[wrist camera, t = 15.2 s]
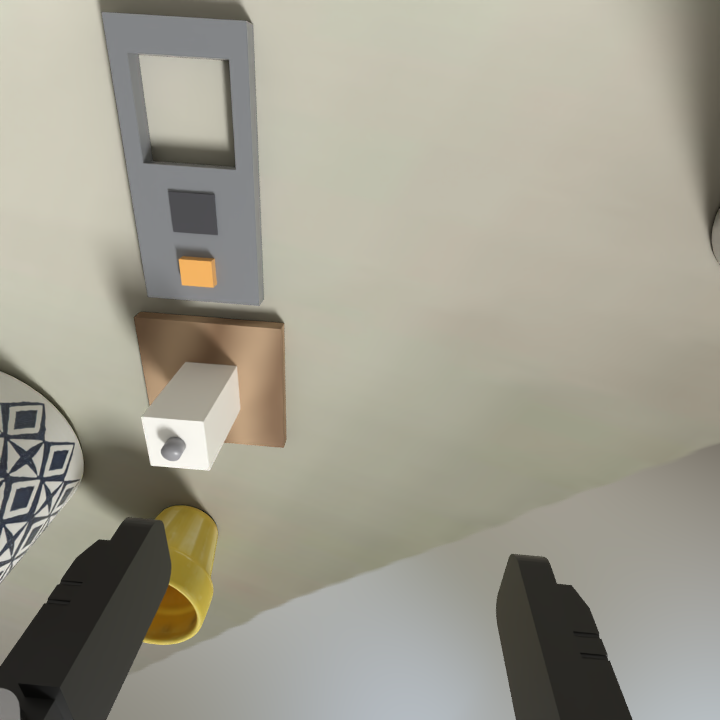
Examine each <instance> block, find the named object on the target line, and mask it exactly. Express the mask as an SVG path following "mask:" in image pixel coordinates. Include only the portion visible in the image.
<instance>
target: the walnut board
mask: <svg viewBox="0 0 720 720" xmlns="http://www.w3.org/2000/svg"><path fill="white" fill-rule="evenodd" d="M134 321H135V327H136V332H137V338H138V343H139V349H140V354H141V360H142V366H143V371H144V377H145V382H146V388H147V393H148V399H149V404H150V405H151V404H152V403H153V401H154V400H155V399H156V398H157V396H158V395H159V394H160V393H161V391H162V390H163V389H164V388H165V387H166V385H167V384H168V383H169V382H170V380H171V379H172V378H173V377H174V375H175V374H176V373H177V372H178V370H179V369H180V368H181V367H182V365H183V364H184V363H185V362H192V363H205V364H218V365H231V366H237V373H238V385H239V398H240V411H239V413H238V415H237V417H236V419H235V421H234V423H233V425H232V427H231V429H230V431H229V433H228V435H227V437H226V439H225V441H224V443H236V444H247V445H259V446H270V447H281V448H284V445H285V442H286V395H285V342H284V323H276V322H264V321H251V320H239V319H226V318H214V317H201V316H189V315H176V314H163V313H151V312H140V313H138V314H137V315H136V316H135V317H134Z"/></svg>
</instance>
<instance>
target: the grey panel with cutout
mask: <svg viewBox="0 0 720 720" xmlns="http://www.w3.org/2000/svg"><path fill="white" fill-rule="evenodd" d="M102 18H103V24H104V30H105V36H106V43H107V49H108V55H109V61H110V67H111V73H112V80H113V86H114V92H115V98H116V104H117V110H118V117H119V123H120V129H121V135H122V141H123V147H124V153H125V160H126V166H127V172H128V178H129V184H130V190H131V197H132V203H133V209H134V215H135V221H136V227H137V234H138V240H139V246H140V252H141V258H142V264H143V270H144V277H145V283H146V289H147V295H148V297H155V298H167V299H180V300H193V301H205V302H218V303H231V304H243V305H256V306H260V304H261V303H262V301H263V300H264V287H263V261H262V236H261V211H260V186H259V161H258V135H257V110H256V85H255V60H254V35H253V24H251V23H249V22H248V21H241V20H224V19H208V18H192V17H176V16H160V15H144V14H128V13H112V12H102ZM138 55H151V56H166V57H182V58H197V59H213V60H228V61H229V67H230V83H231V99H232V116H233V132H234V148H235V165H236V167H230V166H215V165H201V164H187V163H173V162H159V161H153V158H152V151H151V143H150V136H149V129H148V122H147V114H146V107H145V100H144V92H143V85H142V78H141V71H140V63H139V56H138Z"/></svg>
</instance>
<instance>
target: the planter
mask: <svg viewBox="0 0 720 720" xmlns="http://www.w3.org/2000/svg"><path fill="white" fill-rule="evenodd" d="M83 470H84V460H83V453H82V449H81V446H80V443H79V440H78V438H77V437H76V435H75V433H74V431H73V429H72V427H71V426H70V425H69V423H68V422H67V420H66V419H65V418H64V416H63V415H62V414H61V413H60V412H59V411H58V410H57V408H56V407H55V406H54V405H53V404H52V403H50V402H49V401H48V400H47V399H46V398H45V397H44V396H42V395H41V394H40V393H38V392H37V391H36V390H34V389H33V388H31V387H30V386H28V385H27V384H25V383H23V382H22V381H20V380H18V379H16V378H14V377H12V376H10V375H8V374H6V373H3V372H1V371H0V583H1V582H2V581H3V580H4V579H5V577H6V576H7V575H8V574H9V573H10V571H11V570H12V569H13V568H14V566H15V565H16V564H17V563H18V562H19V560H20V559H21V558H22V557H23V556H24V554H25V553H26V552H27V551H28V549H29V548H30V547H31V546H32V545H33V543H34V542H35V541H36V540H37V538H38V537H39V536H40V535H41V534H42V532H43V531H44V530H45V529H46V527H47V526H48V525H49V524H50V523H51V521H52V520H53V519H54V518H55V516H56V515H57V514H58V513H59V512H60V510H61V509H62V508H63V507H64V505H65V504H66V503H67V502H68V500H69V499H70V498H71V497H72V495H73V494H74V493H75V492H76V490H77V488H78V487H79V485H80V483H81V480H82V476H83Z"/></svg>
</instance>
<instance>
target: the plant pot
mask: <svg viewBox="0 0 720 720" xmlns="http://www.w3.org/2000/svg"><path fill="white" fill-rule="evenodd" d="M154 520H161V521H162V522H163V524H164V527H165V533H166V538H167V543H168V548H169V553H170V559H171V576H170V581H169V585H168V588H167V591H166V593H165V595H164V597H163V599H162V602H161V604H160V606H159V608H158V610H157V612H156V614H155V617H154V619H153V621H152V623H151V625H150V627H149V629H148V631H147V634H146V636H145V638H144V640H143V642H145V643H151V644H160V645H167V644H176V643H180V642H183V641H186V640H188V639H190V638H191V637H193V636H194V635H195V634H196V633H197V632H198V631H199V629H200V628H201V626H202V623H203V621H204V619H205V616H206V614H207V611H208V608H209V605H210V602H211V599H212V596H213V584H212V581H211V572H212V567H213V561H214V555H215V549H216V544H217V538H218V530H217V526H216V524H215V522H214V521H213V520H212V519H211V518H210V517H209V516H208V515H207V514H206V513H204V512H203V511H201V510H199V509H197V508H194V507H190V506H184V505H177V506H171V507H168V508H166V509H165V510H163V511H162V512H161V513H160V514H159V515H158V516H157V517H156V518H155V519H154Z"/></svg>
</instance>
